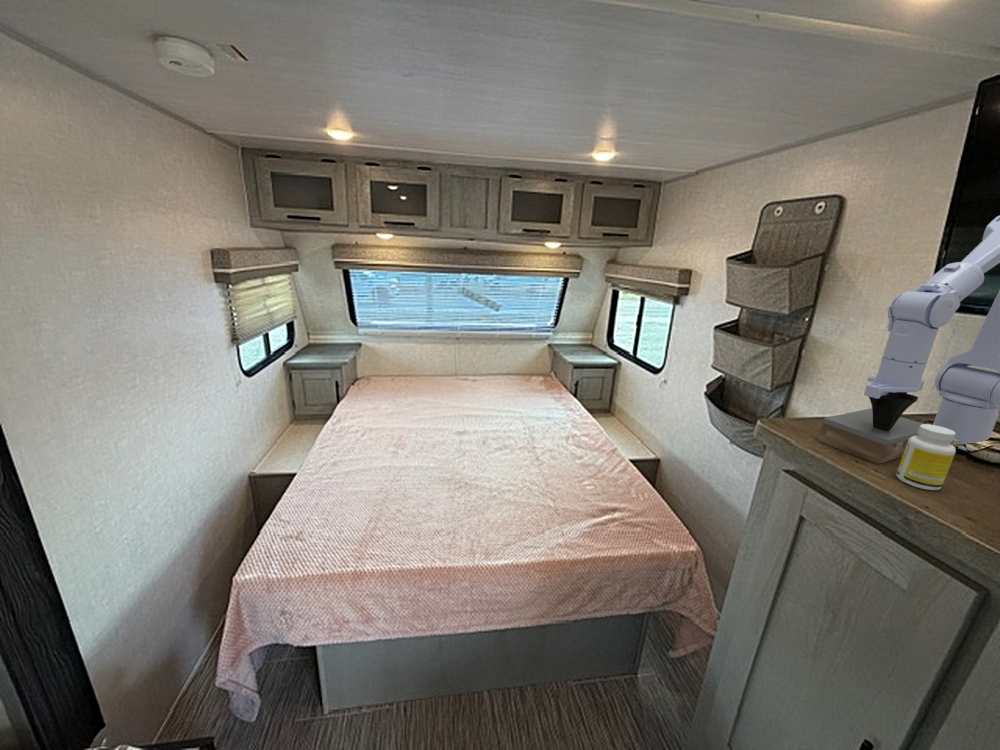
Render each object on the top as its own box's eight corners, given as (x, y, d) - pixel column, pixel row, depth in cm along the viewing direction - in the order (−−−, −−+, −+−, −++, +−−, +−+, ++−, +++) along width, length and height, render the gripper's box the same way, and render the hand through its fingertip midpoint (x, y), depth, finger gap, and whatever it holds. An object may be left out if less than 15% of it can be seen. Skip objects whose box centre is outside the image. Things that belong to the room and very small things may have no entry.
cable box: (864, 429, 87) (869, 413, 86) (928, 451, 77) (935, 432, 76) (818, 440, 81) (823, 422, 80) (880, 465, 72) (887, 445, 71)
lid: (870, 412, 86) (872, 408, 85) (935, 432, 76) (936, 427, 76) (822, 422, 80) (823, 418, 79) (886, 445, 71) (888, 440, 70)
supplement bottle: (950, 493, 63) (973, 437, 61) (911, 489, 64) (931, 434, 62) (923, 475, 68) (943, 423, 66) (887, 472, 70) (904, 420, 67)
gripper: (898, 352, 77) (877, 416, 81) (853, 357, 72) (833, 425, 76) (948, 360, 71) (923, 430, 75) (903, 367, 66) (878, 441, 70)
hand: (881, 428), depth 75 cm, fingers closed, pressing on lid
